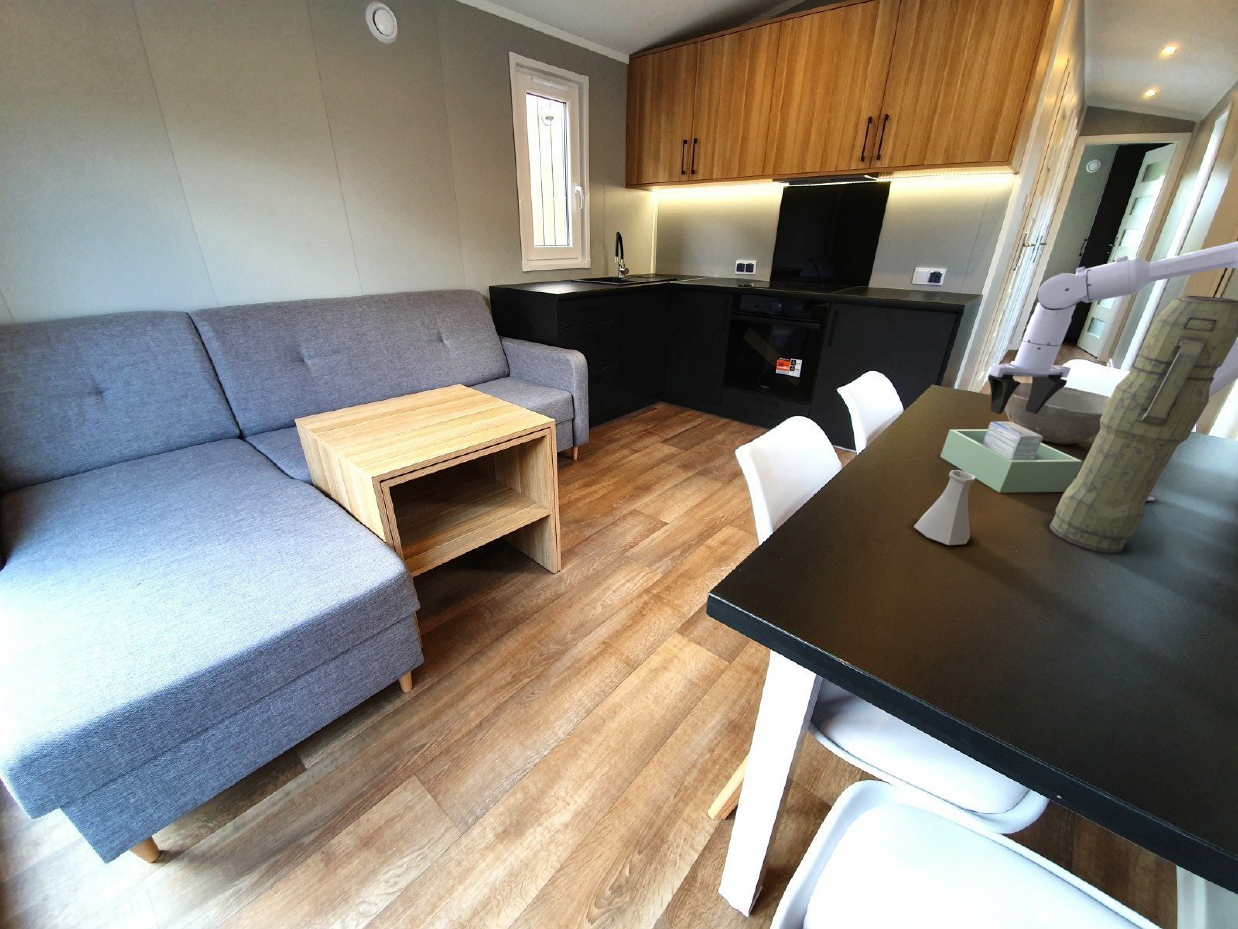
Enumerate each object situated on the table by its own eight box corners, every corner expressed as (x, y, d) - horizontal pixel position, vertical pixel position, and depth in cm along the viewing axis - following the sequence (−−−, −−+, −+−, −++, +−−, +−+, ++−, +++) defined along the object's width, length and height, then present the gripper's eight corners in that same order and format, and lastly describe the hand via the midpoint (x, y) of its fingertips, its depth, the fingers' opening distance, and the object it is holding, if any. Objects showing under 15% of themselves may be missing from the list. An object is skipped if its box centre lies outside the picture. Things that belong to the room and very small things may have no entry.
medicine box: (1026, 479, 92) (1045, 436, 88) (1003, 478, 91) (1021, 435, 88) (996, 461, 99) (1012, 421, 95) (975, 461, 99) (990, 420, 95)
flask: (950, 551, 70) (974, 490, 66) (904, 526, 76) (923, 468, 72) (979, 539, 73) (1004, 480, 69) (932, 516, 79) (952, 460, 75)
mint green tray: (1000, 456, 103) (1010, 429, 100) (1068, 491, 89) (1082, 461, 86) (940, 456, 102) (949, 429, 99) (999, 492, 88) (1012, 462, 85)
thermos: (1051, 543, 73) (1173, 298, 58) (1046, 511, 82) (1151, 291, 67) (1131, 566, 68) (1286, 306, 53) (1117, 530, 77) (1246, 297, 62)
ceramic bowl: (987, 414, 128) (1001, 377, 124) (1103, 435, 116) (1123, 395, 112) (984, 439, 112) (1000, 397, 107) (1119, 466, 100) (1143, 420, 96)
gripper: (1057, 339, 95) (1029, 405, 101) (988, 337, 94) (964, 405, 99) (1092, 346, 89) (1060, 417, 95) (1019, 345, 87) (991, 417, 93)
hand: (1013, 412), depth 97 cm, fingers open, 7 cm apart
